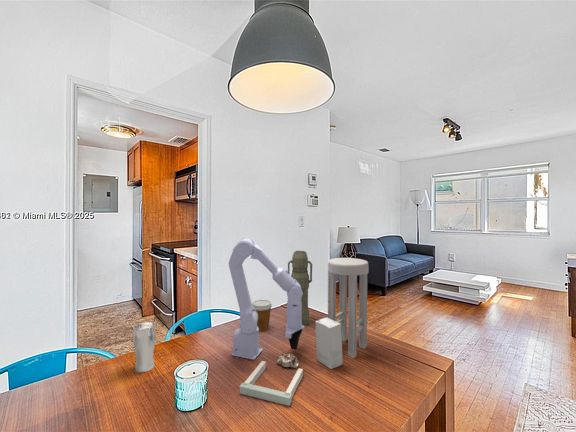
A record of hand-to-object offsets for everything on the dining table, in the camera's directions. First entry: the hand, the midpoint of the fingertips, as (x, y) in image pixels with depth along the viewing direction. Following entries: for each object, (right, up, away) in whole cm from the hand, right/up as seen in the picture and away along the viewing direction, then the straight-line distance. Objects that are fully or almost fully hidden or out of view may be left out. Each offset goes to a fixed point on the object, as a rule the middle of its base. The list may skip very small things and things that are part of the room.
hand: (294, 348), depth 108 cm
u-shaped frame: (-7, -2, -19) cm, 21 cm away
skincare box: (+12, -2, -7) cm, 14 cm away
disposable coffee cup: (-15, -1, +22) cm, 26 cm away
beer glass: (-52, -2, -11) cm, 54 cm away
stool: (+21, -2, +4) cm, 22 cm away
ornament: (-2, -2, -8) cm, 9 cm away
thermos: (+4, -1, +28) cm, 28 cm away
